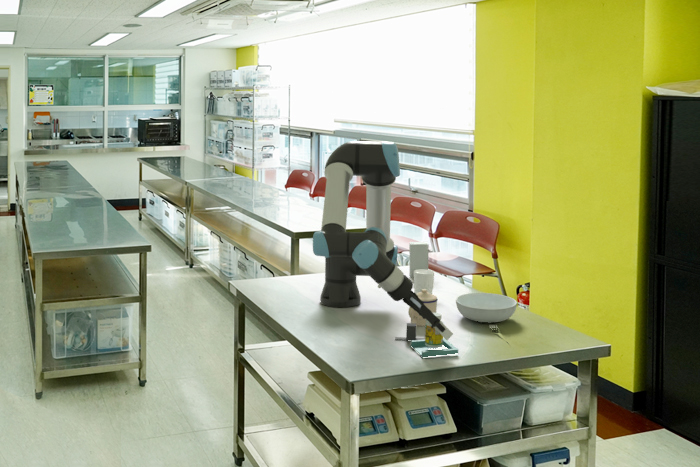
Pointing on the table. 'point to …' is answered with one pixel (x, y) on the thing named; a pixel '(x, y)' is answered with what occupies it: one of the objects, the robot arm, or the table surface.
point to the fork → (494, 326)
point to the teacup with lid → (428, 301)
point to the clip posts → (410, 333)
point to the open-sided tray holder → (424, 352)
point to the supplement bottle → (433, 334)
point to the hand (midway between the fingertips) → (445, 333)
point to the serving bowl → (486, 307)
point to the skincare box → (418, 256)
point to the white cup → (423, 280)
